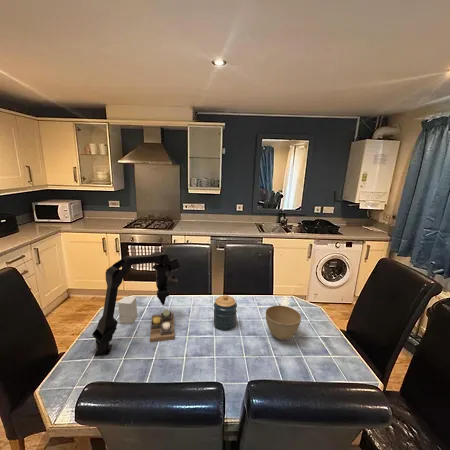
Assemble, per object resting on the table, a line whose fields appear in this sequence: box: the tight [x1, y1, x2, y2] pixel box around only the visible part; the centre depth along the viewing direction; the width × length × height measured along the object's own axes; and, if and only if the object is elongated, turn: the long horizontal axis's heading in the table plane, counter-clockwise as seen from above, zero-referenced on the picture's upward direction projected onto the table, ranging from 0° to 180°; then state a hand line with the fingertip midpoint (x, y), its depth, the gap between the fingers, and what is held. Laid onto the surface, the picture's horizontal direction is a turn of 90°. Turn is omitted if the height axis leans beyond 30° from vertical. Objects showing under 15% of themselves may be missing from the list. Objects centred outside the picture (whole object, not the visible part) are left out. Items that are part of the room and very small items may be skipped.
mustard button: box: [153, 317, 161, 325], centre depth 135 cm, size 4×4×2 cm
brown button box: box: [149, 311, 176, 343], centre depth 136 cm, size 21×12×4 cm, turn 13°
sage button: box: [162, 309, 171, 318], centre depth 141 cm, size 4×4×2 cm
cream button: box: [163, 322, 170, 331], centre depth 130 cm, size 4×4×2 cm
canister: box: [213, 294, 238, 331], centre depth 140 cm, size 13×13×18 cm
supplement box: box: [117, 296, 138, 325], centre depth 142 cm, size 7×7×13 cm
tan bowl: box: [265, 305, 302, 341], centre depth 132 cm, size 18×18×12 cm
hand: (162, 300), depth 140 cm, fingers open, 9 cm apart
